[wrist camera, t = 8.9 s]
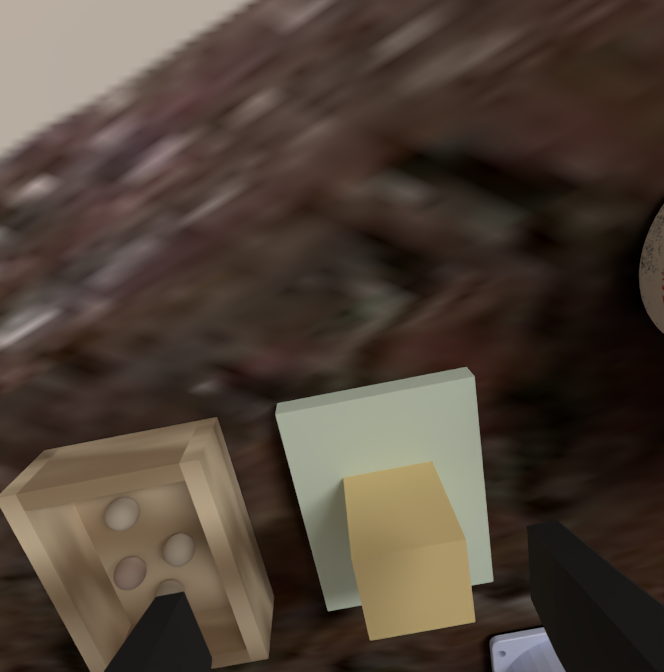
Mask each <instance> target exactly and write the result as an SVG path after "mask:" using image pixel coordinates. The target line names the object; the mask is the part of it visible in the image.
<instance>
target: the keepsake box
mask: <svg viewBox="0 0 664 672" xmlns="http://www.w3.org/2000/svg"><path fill="white" fill-rule="evenodd" d="M0 508H1V509H2V511H3V513H4V515H5V517H6V519H7V520H8V522H9V524H10V526H11V528H12V529H13V531H14V533H15V535H16V537H17V539H18V540H19V542H20V544H21V546H22V548H23V550H24V551H25V553H26V555H27V557H28V559H29V560H30V562H31V564H32V566H33V568H34V570H35V571H36V573H37V575H38V577H39V579H40V580H41V582H42V584H43V586H44V588H45V590H46V591H47V593H48V595H49V597H50V599H51V601H52V602H53V604H54V606H55V608H56V610H57V611H58V613H59V615H60V617H61V619H62V621H63V622H64V624H65V626H66V628H67V630H68V632H69V633H70V635H71V637H72V639H73V641H74V642H75V644H76V646H77V648H78V650H79V652H80V653H81V655H82V657H83V659H84V661H85V662H86V664H87V666H88V668H89V670H90V672H104V670H105V669H106V667H107V666H108V665H109V663H110V662H111V660H112V659H113V657H114V656H115V654H116V653H117V652H118V650H119V649H120V647H121V646H122V644H123V643H124V641H125V640H126V639H127V637H128V636H129V634H130V633H131V631H132V630H133V628H134V627H135V626H136V624H137V623H138V621H139V620H140V618H141V617H142V615H143V614H144V613H145V611H146V610H147V608H148V607H149V606H150V604H151V603H152V601H153V600H154V599H155V597H157V596H162V595H167V594H173V593H178V592H183V591H184V592H185V594H186V597H187V599H188V602H189V604H190V606H191V609H192V611H193V613H194V616H195V618H196V621H197V623H198V625H199V628H200V630H201V632H202V635H203V637H204V640H205V642H206V644H207V647H208V649H209V651H210V654H211V656H212V666H211V669H213V668H219V667H224V666H230V665H236V664H241V663H247V662H252V661H258V660H263V659H268V658H269V647H270V636H271V626H272V615H273V604H274V594H273V591H272V588H271V585H270V582H269V579H268V576H267V572H266V569H265V566H264V563H263V560H262V557H261V554H260V550H259V547H258V544H257V541H256V538H255V535H254V532H253V528H252V525H251V522H250V519H249V516H248V513H247V510H246V506H245V503H244V500H243V497H242V494H241V491H240V488H239V484H238V481H237V478H236V475H235V472H234V469H233V466H232V462H231V459H230V456H229V453H228V450H227V447H226V444H225V440H224V437H223V434H222V431H221V428H220V425H219V422H218V418H217V417H215V418H209V419H204V420H199V421H194V422H189V423H184V424H178V425H173V426H168V427H163V428H158V429H153V430H147V431H142V432H137V433H132V434H127V435H121V436H116V437H111V438H106V439H101V440H96V441H90V442H85V443H80V444H75V445H70V446H65V447H59V448H54V449H49V450H44V451H43V452H42V453H41V454H40V455H39V456H38V457H37V458H36V459H35V460H34V461H33V462H32V463H31V464H30V465H29V466H28V467H27V468H26V469H25V470H24V471H23V472H22V473H21V474H20V475H19V476H18V477H17V478H16V479H15V480H14V481H13V482H12V483H11V484H10V485H9V486H8V487H7V488H6V489H4V490H3V491H2V492H1V493H0Z"/></svg>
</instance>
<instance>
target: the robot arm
mask: <svg viewBox="0 0 664 672" xmlns="http://www.w3.org/2000/svg"><path fill="white" fill-rule="evenodd" d="M527 533H528V551H529V570H530V589H531V599H532V602H533V604H534V606H535V609H536V611H537V613H538V615H539V618H540V620H541V622H542V625H543V627H541V628H536V629H530V630H525V631H519V632H513V633H508V634H502V635H497V636H494V637H493V638H491V640H490V643H489V645H490V655H491V664H492V672H664V605H663V604H661V603H660V602H659V601H657V600H656V599H655V598H653V597H652V596H651V595H649V594H648V593H647V592H646V591H644V590H643V589H642V588H640V587H639V586H638V585H637V584H635V583H634V582H633V581H631V580H630V579H629V578H628V577H626V576H625V575H624V574H623V573H621V572H620V571H619V570H618V569H616V568H615V567H614V566H613V565H611V564H610V563H609V562H608V561H607V560H605V559H604V558H603V557H602V556H600V555H599V554H598V553H597V552H595V551H594V550H593V549H592V548H591V547H589V546H588V545H587V544H586V543H585V542H583V541H582V540H581V539H580V538H579V537H577V536H576V535H575V534H574V533H572V532H571V531H570V530H569V529H568V528H566V527H565V526H564V525H563V524H561V523H560V522H559V521H557V520H556V521H550V522H545V523H540V524H535V525H529V526H527ZM211 666H212V656H211V654H210V651H209V649H208V647H207V644H206V642H205V640H204V637H203V635H202V632H201V630H200V628H199V625H198V623H197V621H196V618H195V616H194V613H193V611H192V609H191V606H190V604H189V602H188V599H187V597H186V594H185V592H184V591H183V592H178V593H173V594H167V595H162V596H157V597H155V599H154V600H153V601H152V603H151V604H150V606H149V607H148V608H147V610H146V611H145V613H144V614H143V615H142V617H141V618H140V620H139V621H138V623H137V624H136V626H135V627H134V628H133V630H132V631H131V633H130V634H129V636H128V637H127V639H126V640H125V641H124V643H123V644H122V646H121V647H120V649H119V650H118V652H117V653H116V654H115V656H114V657H113V659H112V660H111V662H110V663H109V665H108V666H107V667H106V669H105V670H104V672H211Z"/></svg>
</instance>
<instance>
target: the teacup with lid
mask: <svg viewBox="0 0 664 672" xmlns="http://www.w3.org/2000/svg"><path fill="white" fill-rule="evenodd" d="M639 285H640V292H641V297H642V300H643V304H644V306H645V309H646V311H647V313H648V315H649V316H650V318H651V320H652V321H653V323H654V324H655V325H656V326H657V328H658V329H659V330H660V331H661V332H662V333H663V334H664V204H663V206H662V207H661V209H660V211H659V212H658V214H657V216H656V217H655V219H654V221H653V223H652V225H651V227H650V229H649V232H648V234H647V237H646V240H645V243H644V246H643V250H642V254H641V259H640V267H639Z"/></svg>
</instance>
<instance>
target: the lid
mask: <svg viewBox="0 0 664 672" xmlns="http://www.w3.org/2000/svg"><path fill="white" fill-rule="evenodd" d="M275 415H276V419H277V423H278V427H279V430H280V434H281V438H282V442H283V445H284V449H285V453H286V457H287V460H288V464H289V468H290V472H291V475H292V479H293V483H294V487H295V490H296V494H297V498H298V502H299V505H300V509H301V513H302V516H303V520H304V524H305V528H306V531H307V535H308V539H309V543H310V546H311V550H312V554H313V558H314V561H315V565H316V569H317V573H318V576H319V580H320V584H321V588H322V591H323V595H324V599H325V603H326V606H327V610H328V611H332V610H337V609H343V608H349V607H354V606H360V605H362V608H363V612H364V616H365V621H366V625H367V630H368V634H369V638H370V641H371V640H377V639H383V638H388V637H394V636H400V635H405V634H411V633H416V632H422V631H428V630H433V629H439V628H445V627H450V626H456V625H461V624H467V623H473V622H475V614H474V606H473V597H472V588H471V585H476V584H482V583H488V582H493V573H492V562H491V551H490V540H489V529H488V518H487V507H486V496H485V485H484V474H483V463H482V452H481V441H480V430H479V419H478V408H477V397H476V386H475V376H474V375H473V374H472V373H471V372H470V370H469V369H468V368H467V367H464V368H458V369H453V370H448V371H443V372H438V373H432V374H427V375H422V376H417V377H412V378H406V379H401V380H396V381H391V382H386V383H380V384H375V385H370V386H365V387H360V388H354V389H349V390H344V391H339V392H334V393H328V394H323V395H318V396H313V397H308V398H302V399H297V400H292V401H287V402H282V403H277V407H276V413H275Z"/></svg>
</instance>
